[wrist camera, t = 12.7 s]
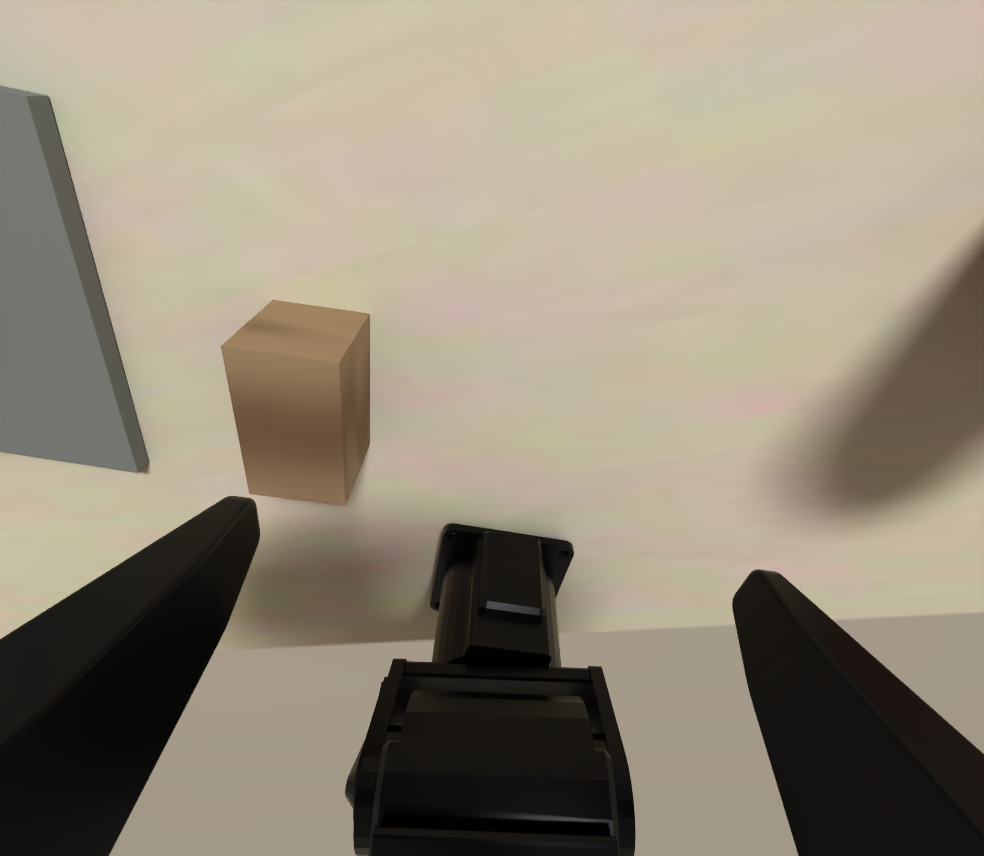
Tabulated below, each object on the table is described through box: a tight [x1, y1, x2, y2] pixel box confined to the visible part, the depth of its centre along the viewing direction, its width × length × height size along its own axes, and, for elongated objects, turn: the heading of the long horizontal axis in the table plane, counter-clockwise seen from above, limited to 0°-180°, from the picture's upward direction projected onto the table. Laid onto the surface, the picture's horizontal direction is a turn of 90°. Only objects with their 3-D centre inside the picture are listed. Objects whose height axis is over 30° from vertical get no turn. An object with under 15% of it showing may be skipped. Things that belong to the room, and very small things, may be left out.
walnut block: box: [221, 300, 370, 506], centre depth 18 cm, size 6×4×4 cm, turn 172°
